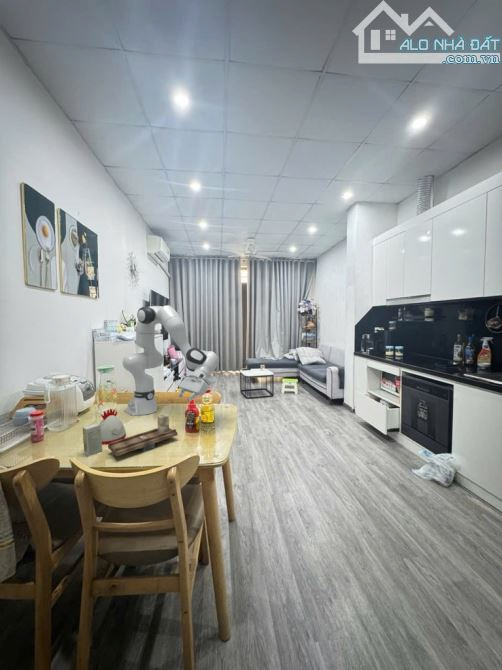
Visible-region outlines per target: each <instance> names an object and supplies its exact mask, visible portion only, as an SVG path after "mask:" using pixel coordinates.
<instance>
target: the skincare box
mask: <svg viewBox="0 0 502 670" xmlns="http://www.w3.org/2000/svg"><path fill="white" fill-rule="evenodd" d="M82 437H83V438H82V440H83V441H82V443H83V453H84V455H86V457H89V456H92V455H95V454H97V453H100V452H102V451H103V445H102V439H101V425H100V424H99V423H98V422H95V423H93V424H89V425H86V426H82Z"/></svg>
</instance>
